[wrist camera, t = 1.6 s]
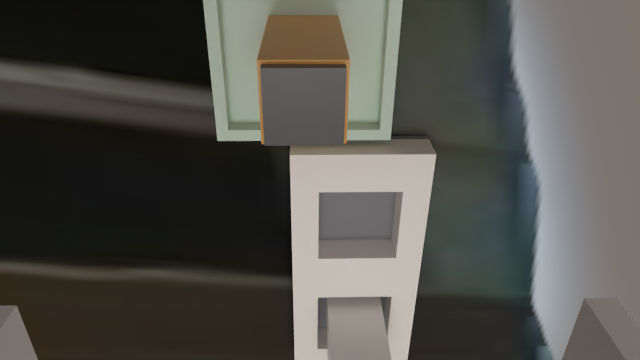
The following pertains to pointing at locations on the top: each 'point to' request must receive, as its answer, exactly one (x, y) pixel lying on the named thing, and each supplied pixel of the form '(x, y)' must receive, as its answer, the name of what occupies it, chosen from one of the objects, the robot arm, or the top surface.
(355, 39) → the tray
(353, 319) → the twin plug
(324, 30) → the plug
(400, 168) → the pdu strip
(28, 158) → the top surface
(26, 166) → the top surface
